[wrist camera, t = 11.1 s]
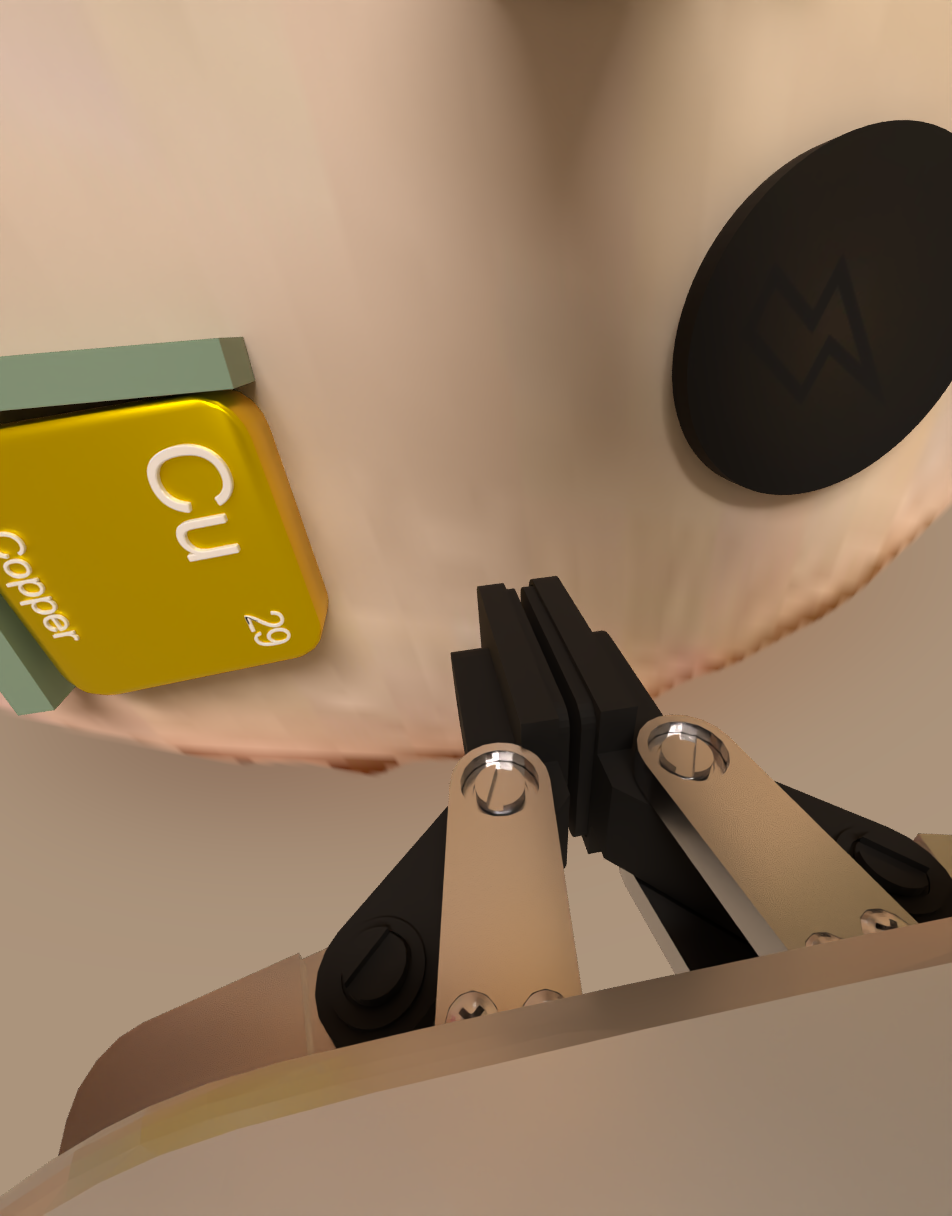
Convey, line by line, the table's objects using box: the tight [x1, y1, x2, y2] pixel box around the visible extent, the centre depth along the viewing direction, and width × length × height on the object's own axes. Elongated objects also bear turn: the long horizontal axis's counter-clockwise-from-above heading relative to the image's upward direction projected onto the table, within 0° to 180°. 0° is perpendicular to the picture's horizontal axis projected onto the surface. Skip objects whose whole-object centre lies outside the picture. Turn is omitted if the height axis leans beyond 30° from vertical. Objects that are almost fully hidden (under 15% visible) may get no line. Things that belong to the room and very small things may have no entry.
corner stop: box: [0, 337, 255, 715], centre depth 26 cm, size 17×18×4 cm
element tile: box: [0, 389, 328, 695], centre depth 27 cm, size 15×15×5 cm
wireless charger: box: [672, 120, 952, 495], centre depth 28 cm, size 18×18×2 cm
